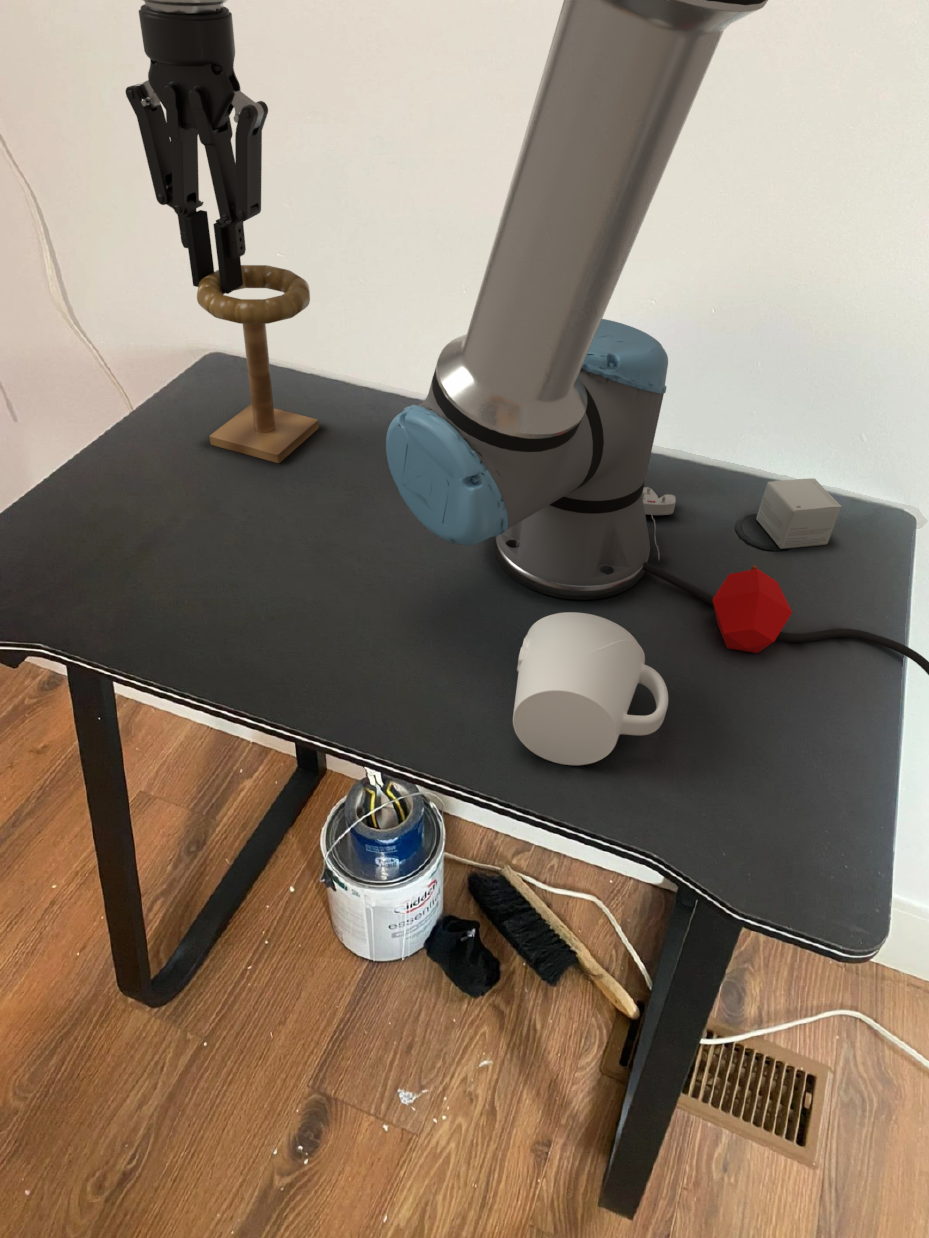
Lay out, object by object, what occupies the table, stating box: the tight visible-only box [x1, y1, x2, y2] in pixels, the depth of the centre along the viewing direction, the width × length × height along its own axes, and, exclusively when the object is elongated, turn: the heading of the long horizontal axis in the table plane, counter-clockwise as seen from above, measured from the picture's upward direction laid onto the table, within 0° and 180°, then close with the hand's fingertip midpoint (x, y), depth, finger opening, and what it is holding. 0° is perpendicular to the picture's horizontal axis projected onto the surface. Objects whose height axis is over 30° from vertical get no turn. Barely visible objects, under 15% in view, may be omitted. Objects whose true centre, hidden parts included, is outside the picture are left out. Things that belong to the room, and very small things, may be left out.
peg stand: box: [209, 324, 320, 464], centre depth 102 cm, size 9×9×15 cm
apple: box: [712, 565, 793, 654], centre depth 82 cm, size 7×7×8 cm
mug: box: [512, 611, 669, 766], centre depth 72 cm, size 12×9×8 cm
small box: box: [755, 477, 843, 550], centre depth 95 cm, size 6×6×5 cm
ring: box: [196, 264, 311, 325], centre depth 90 cm, size 11×11×2 cm
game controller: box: [642, 486, 677, 562], centre depth 96 cm, size 6×12×3 cm, turn 16°
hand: (218, 285), depth 91 cm, fingers closed on ring, 2 cm apart
